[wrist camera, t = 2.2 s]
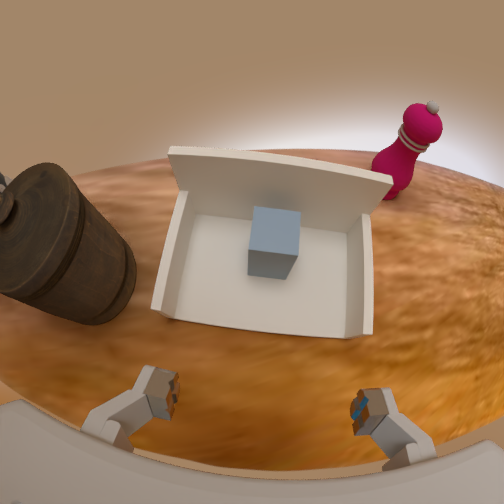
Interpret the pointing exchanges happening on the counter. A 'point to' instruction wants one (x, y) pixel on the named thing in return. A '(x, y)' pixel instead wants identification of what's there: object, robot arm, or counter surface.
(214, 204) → the open box
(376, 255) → the counter surface
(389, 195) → the pepper mill
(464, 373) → the counter surface
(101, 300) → the wooden container
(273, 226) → the block
